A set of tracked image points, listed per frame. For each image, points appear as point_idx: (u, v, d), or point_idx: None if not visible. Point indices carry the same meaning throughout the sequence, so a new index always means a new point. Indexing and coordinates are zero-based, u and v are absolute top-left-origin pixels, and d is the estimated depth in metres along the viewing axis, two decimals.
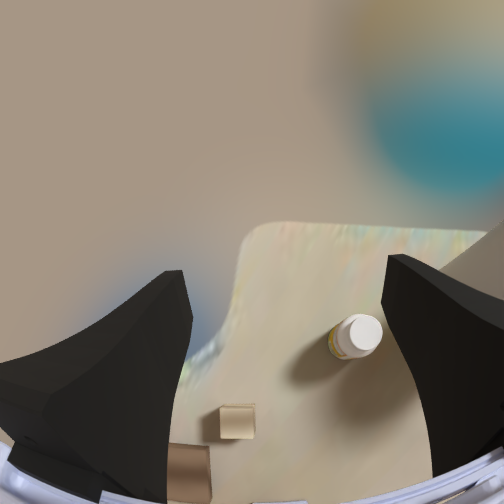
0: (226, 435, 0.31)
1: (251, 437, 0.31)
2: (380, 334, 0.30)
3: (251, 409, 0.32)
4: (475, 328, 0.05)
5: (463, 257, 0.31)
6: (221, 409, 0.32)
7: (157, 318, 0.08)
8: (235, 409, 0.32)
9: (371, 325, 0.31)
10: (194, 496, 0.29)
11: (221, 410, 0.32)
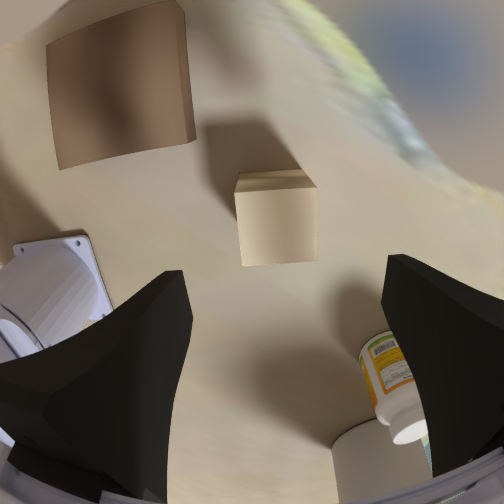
0: (244, 206, 0.14)
1: (244, 261, 0.16)
2: (405, 442, 0.18)
3: (314, 258, 0.16)
4: (475, 328, 0.05)
5: None
6: (314, 191, 0.14)
7: (157, 318, 0.08)
8: (315, 224, 0.15)
9: (421, 433, 0.17)
10: (68, 137, 0.15)
11: (311, 191, 0.14)
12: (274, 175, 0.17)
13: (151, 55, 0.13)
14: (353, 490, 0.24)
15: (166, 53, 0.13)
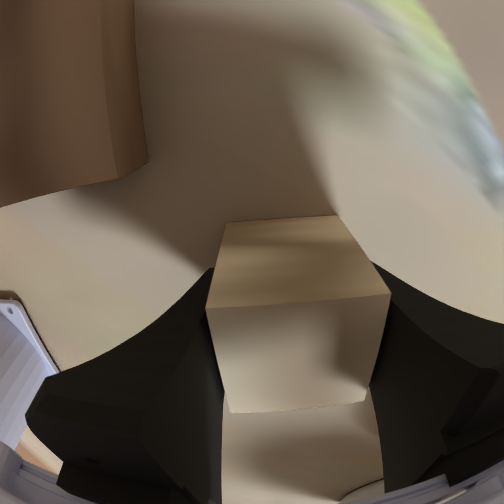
0: (229, 334, 0.06)
1: (234, 407, 0.08)
2: None
3: (360, 398, 0.08)
4: (418, 341, 0.05)
5: None
6: (384, 302, 0.06)
7: None
8: (372, 354, 0.07)
9: None
10: None
11: (378, 302, 0.06)
12: (291, 235, 0.09)
13: (58, 17, 0.05)
14: None
15: (82, 8, 0.05)
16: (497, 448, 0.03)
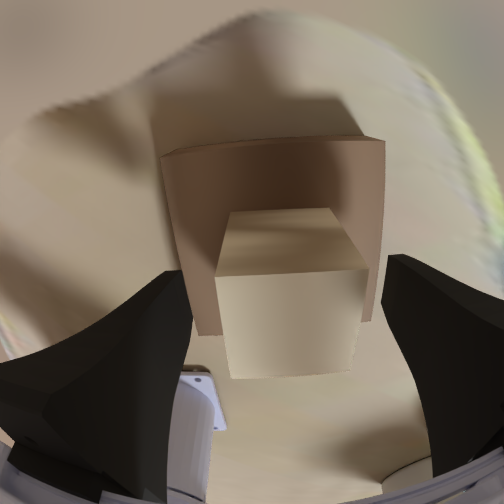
0: (233, 300, 0.08)
1: (234, 373, 0.09)
2: None
3: (346, 368, 0.09)
4: (475, 328, 0.05)
5: None
6: (363, 276, 0.07)
7: (157, 318, 0.08)
8: (355, 324, 0.08)
9: None
10: (216, 304, 0.14)
11: (359, 276, 0.07)
12: (287, 223, 0.11)
13: (350, 223, 0.12)
14: None
15: (369, 223, 0.12)
16: None
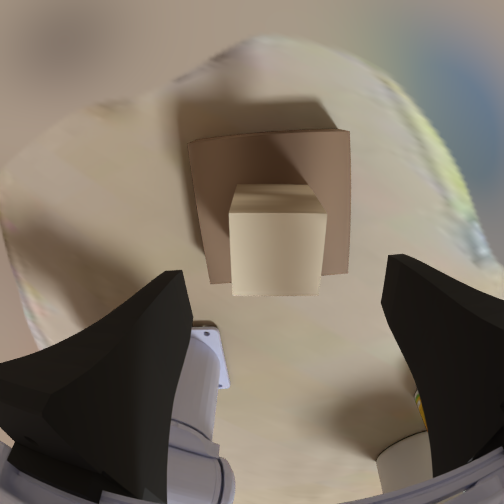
0: (239, 229, 0.12)
1: (235, 290, 0.14)
2: None
3: (315, 292, 0.14)
4: (475, 328, 0.05)
5: None
6: (323, 218, 0.12)
7: (157, 318, 0.08)
8: (320, 255, 0.13)
9: None
10: (225, 256, 0.18)
11: (320, 218, 0.12)
12: (277, 191, 0.15)
13: (325, 191, 0.17)
14: None
15: (340, 192, 0.17)
16: None
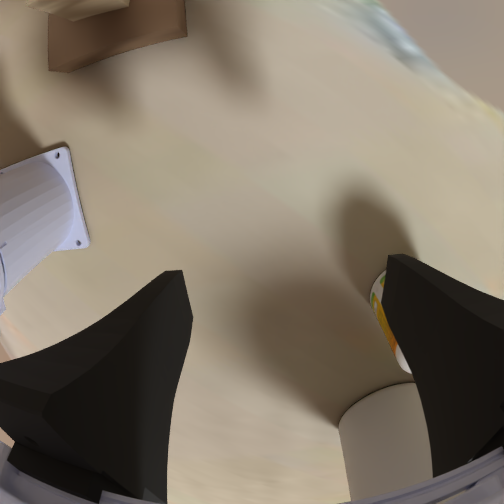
0: None
1: (28, 1, 0.07)
2: None
3: None
4: (475, 328, 0.05)
5: None
6: None
7: (157, 318, 0.08)
8: None
9: None
10: (62, 38, 0.12)
11: None
12: None
13: None
14: (366, 470, 0.21)
15: None
16: None
